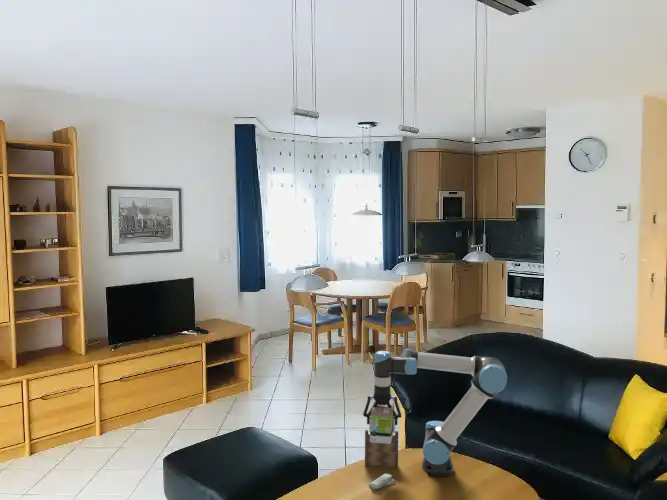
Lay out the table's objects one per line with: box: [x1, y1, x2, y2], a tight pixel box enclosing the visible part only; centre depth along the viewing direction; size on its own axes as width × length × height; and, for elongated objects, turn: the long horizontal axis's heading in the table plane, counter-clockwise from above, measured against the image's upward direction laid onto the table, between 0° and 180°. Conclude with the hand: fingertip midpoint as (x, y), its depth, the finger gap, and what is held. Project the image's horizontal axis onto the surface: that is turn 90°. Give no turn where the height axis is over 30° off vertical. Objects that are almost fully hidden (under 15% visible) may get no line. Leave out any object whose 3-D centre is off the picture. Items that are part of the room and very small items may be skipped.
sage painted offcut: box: [370, 472, 393, 490], centre depth 250 cm, size 12×4×2 cm, turn 143°
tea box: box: [369, 400, 395, 444], centre depth 258 cm, size 15×10×15 cm
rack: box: [364, 429, 399, 468], centre depth 269 cm, size 16×2×18 cm, turn 85°
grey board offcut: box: [368, 478, 396, 490], centre depth 250 cm, size 12×4×2 cm, turn 121°
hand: (382, 431), depth 259 cm, fingers closed on tea box, 10 cm apart
